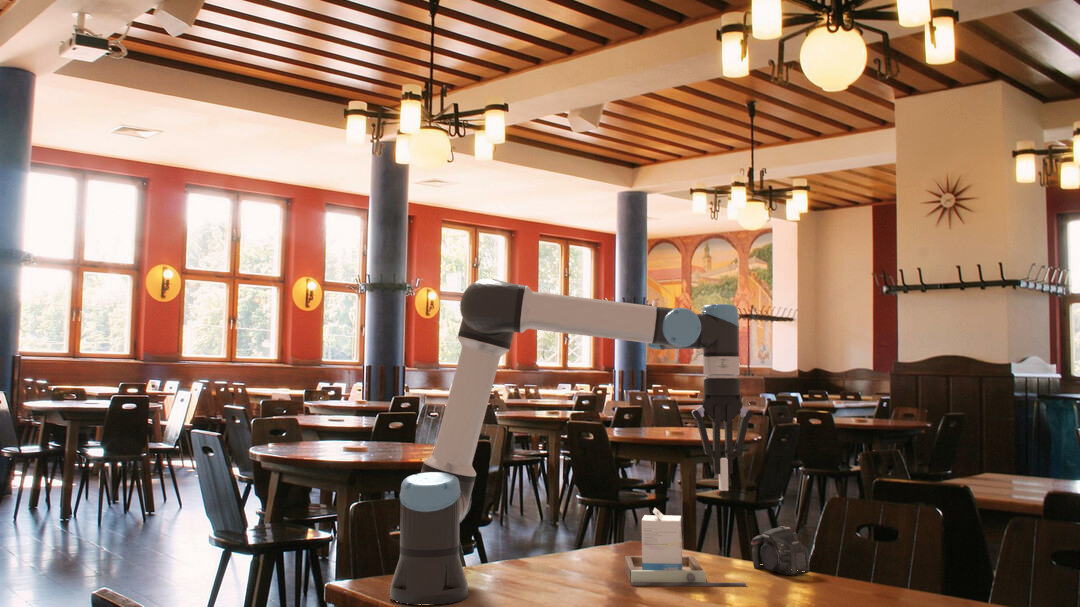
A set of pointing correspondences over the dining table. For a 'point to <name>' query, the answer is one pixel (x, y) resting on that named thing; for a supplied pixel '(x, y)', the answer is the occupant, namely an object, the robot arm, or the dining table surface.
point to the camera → (780, 552)
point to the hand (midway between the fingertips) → (723, 489)
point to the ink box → (661, 542)
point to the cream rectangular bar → (667, 576)
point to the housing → (687, 564)
